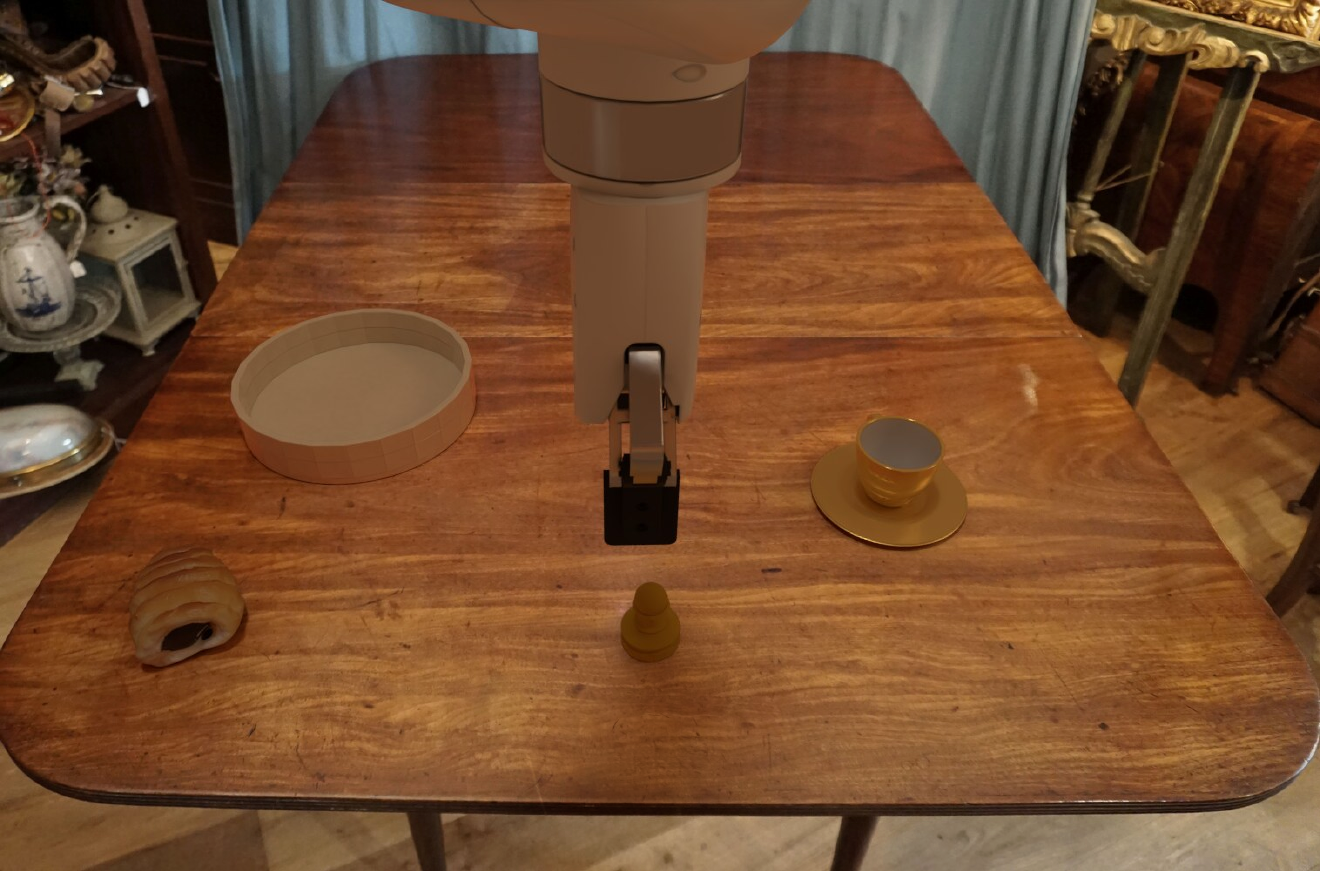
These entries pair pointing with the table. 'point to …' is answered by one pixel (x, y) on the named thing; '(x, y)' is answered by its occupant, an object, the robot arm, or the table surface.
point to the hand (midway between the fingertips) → (636, 469)
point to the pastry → (183, 605)
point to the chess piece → (650, 625)
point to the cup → (891, 484)
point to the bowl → (355, 395)
